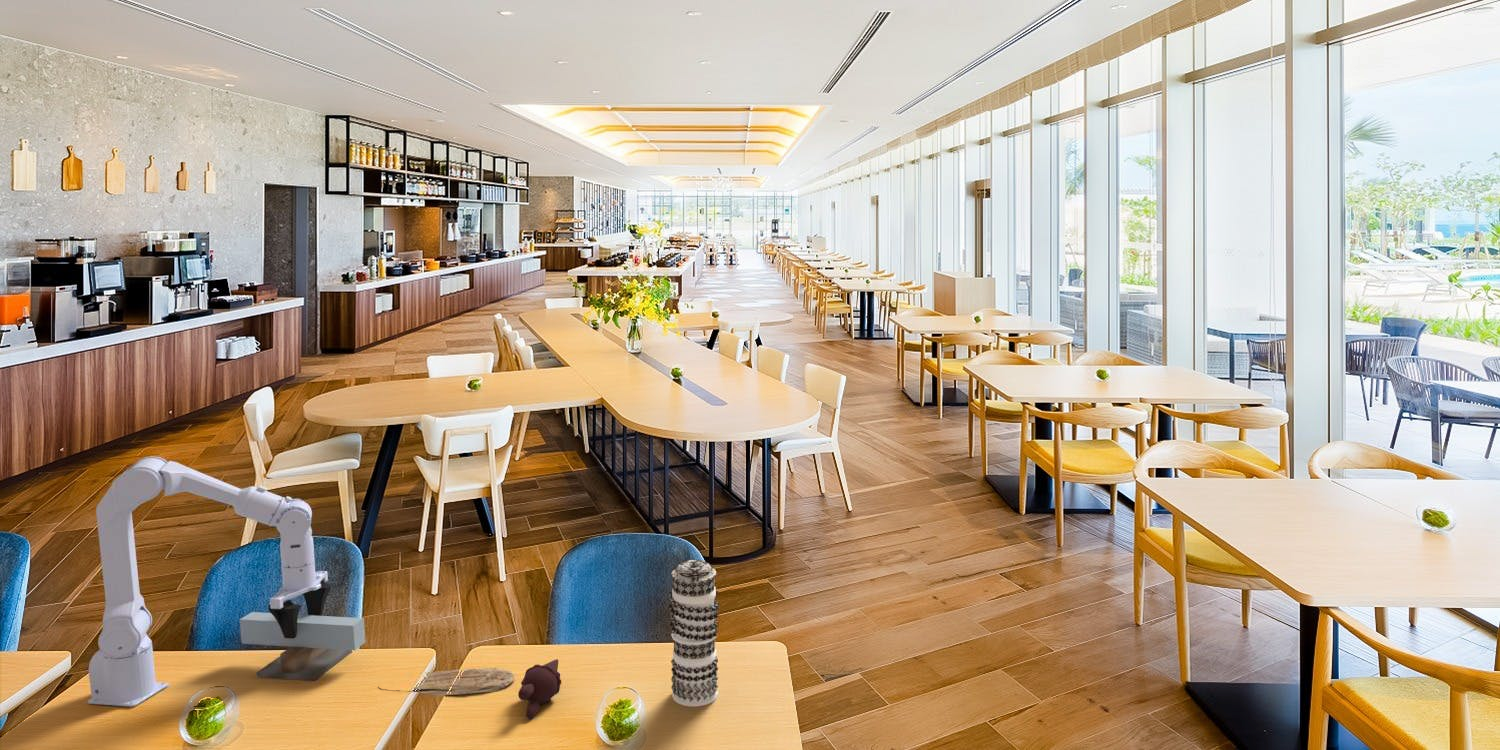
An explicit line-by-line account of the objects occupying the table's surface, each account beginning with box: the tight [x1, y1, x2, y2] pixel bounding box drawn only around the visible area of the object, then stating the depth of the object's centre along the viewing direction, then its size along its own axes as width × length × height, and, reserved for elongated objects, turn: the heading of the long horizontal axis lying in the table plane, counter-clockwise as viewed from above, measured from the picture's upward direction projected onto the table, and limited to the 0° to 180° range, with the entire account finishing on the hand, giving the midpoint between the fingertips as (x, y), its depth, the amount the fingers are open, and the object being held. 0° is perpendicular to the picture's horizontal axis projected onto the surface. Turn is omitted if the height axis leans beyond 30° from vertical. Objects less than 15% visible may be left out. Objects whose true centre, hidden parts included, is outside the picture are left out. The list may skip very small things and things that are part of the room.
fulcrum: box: [256, 646, 353, 682], centre depth 165 cm, size 12×12×4 cm
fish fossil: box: [413, 667, 515, 697], centre depth 159 cm, size 26×10×1 cm, turn 96°
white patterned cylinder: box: [667, 559, 720, 708], centre depth 152 cm, size 9×9×25 cm
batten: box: [239, 611, 366, 651], centre depth 164 cm, size 24×4×5 cm, turn 83°
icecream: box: [517, 659, 562, 720], centre depth 152 cm, size 7×7×15 cm
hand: (303, 629), depth 164 cm, fingers open, 7 cm apart
